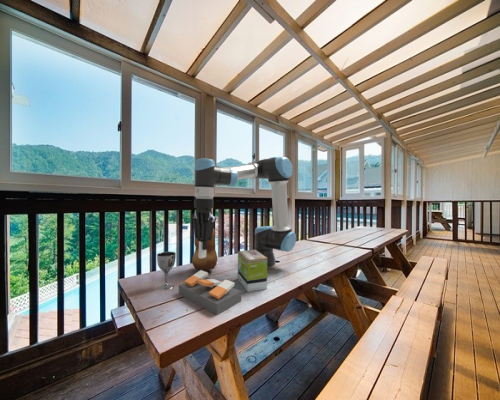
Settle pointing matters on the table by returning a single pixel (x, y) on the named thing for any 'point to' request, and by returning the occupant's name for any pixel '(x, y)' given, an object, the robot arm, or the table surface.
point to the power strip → (210, 297)
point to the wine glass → (166, 267)
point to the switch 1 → (196, 278)
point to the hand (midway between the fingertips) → (202, 257)
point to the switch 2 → (221, 289)
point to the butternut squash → (210, 258)
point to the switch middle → (209, 282)
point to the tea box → (252, 270)
